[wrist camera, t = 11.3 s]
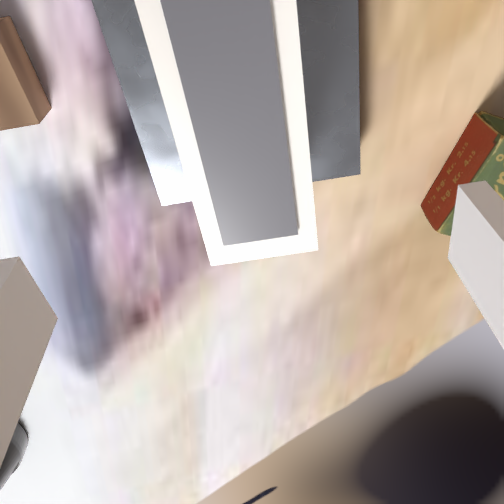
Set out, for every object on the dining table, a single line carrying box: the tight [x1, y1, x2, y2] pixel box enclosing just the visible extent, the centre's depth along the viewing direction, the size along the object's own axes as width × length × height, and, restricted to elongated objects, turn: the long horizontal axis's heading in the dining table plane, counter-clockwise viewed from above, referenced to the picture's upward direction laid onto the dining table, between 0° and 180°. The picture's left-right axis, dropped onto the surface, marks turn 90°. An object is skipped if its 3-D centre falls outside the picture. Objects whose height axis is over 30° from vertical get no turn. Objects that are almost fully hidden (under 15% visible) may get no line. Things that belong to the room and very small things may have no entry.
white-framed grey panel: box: [134, 0, 318, 266], centre depth 24 cm, size 6×15×10 cm, turn 9°
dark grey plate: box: [92, 0, 360, 206], centre depth 26 cm, size 14×20×2 cm
